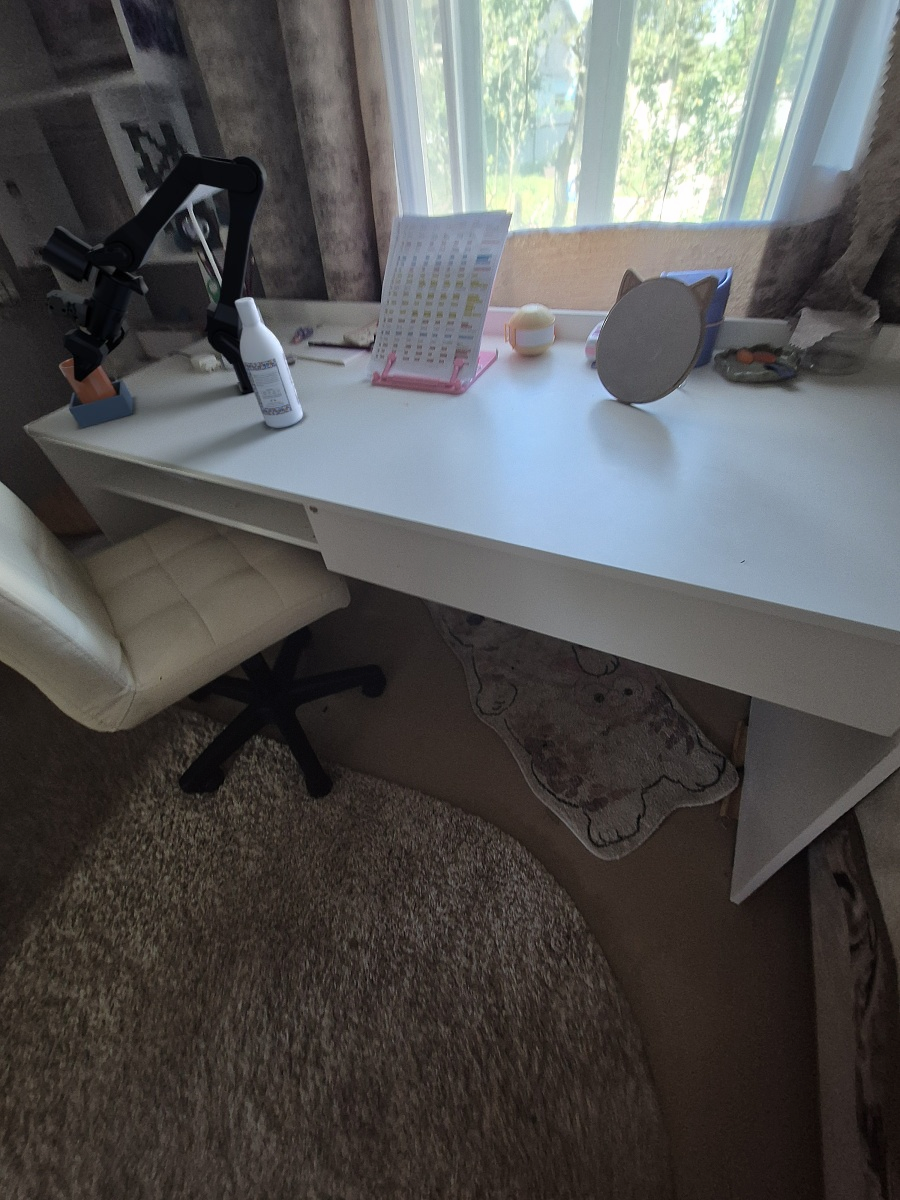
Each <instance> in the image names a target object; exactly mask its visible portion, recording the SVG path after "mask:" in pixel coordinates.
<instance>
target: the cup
mask: <svg viewBox="0 0 900 1200" xmlns="http://www.w3.org/2000/svg"><path fill="white" fill-rule="evenodd" d="M58 368H59V369H60V371H61V373H62V374H63V376H64V377H65V379H66V381H67V383H68V384H69V386H70V387H71V389H72V391H73V392H75V394H76V395H77V397H78V399H79V400H80V402H81V404H82V405H83V404H87V403H91V402H95V401H98V400H102V399H106V398H110V397H114V396H118V394H117V392H116V390H115V389H114V387H113V385H112V381H111V380H110V378H109V376H108V375H107V374H108V373H106V370H105V369H104V367H103V365H102V364H101V365H100V366H99V367H98V368H97V369H95V370H94V371H93V372H92V373H91V374H90V375H88V376H87V377H86V378H85V379H84V380H83V381H82V382H78V381H76V380H75V379H74V364H73V357H72V358H69V359H65V360H64V361H62V362H61V363H60V364H58Z"/></svg>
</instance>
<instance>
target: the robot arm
mask: <svg viewBox="0 0 900 1200" xmlns="http://www.w3.org/2000/svg"><path fill="white" fill-rule="evenodd" d="M267 184H268V175H267V172H266V169H265V167H264V165H263V164H262V162H261V161H260V160H259V159H258V158H257V157H255V156H253V155H251V154H248V153H245V154H240V155H238V156H236V157H234V158H226V157H218V156H210V155H202V154H199V153H196V152H193V151H190V152H186V153H183V154H181V155H180V157H179V158H178V162H177V164H176V165H174V167H173V169H172V170H171V171H170V173H169V174H168V175H167V176H166V177H165V179H164V180H163V181H162V183H161V184H160V185H159V186H158V187H157V189H156V190H155V191H154V193H153V194H152V195H151V197H149V199H148V200H147V201H146V203H145V204H144V205H142V207H141V209H140V210H139V211H138V213H137V214H136V215H135V216H133V217H132V218H130V219H129V220H128V221H126V222H125V223H124V224H122V225H121V226H120V227H118V228H116V229H115V230H114V231H112V233H110V234H109V235H107V236H106V237H105V238H104V240H103V243H98V244H97V245H94V246H92V245H90V244H88V243H87V242H85V241H83V240H82V239H81V238H79V237H77V236H76V235H75V234H73V233H71V232H70V231H69V230H68V229H67V228H65V227H63V226H62V225H58V226H55V227H54V229H53V233H51V236H50V237H49V238H48V240H47V243H46V244H45V245H44V246H43V250H42V254H41V260H42V263H43V264H45V265H47V266H49V267H50V268H52V269H54V270H55V271H57V272H59V273H60V274H62V275H64V276H66V277H67V278H69V279H71V280H72V281H73V282H76V283H77V284H79V285H81V284H83V283H84V281H85V282H87V283H89V284H90V283H91V282H92V281H93V279H94V277H96V278H95V280H94V284H93V286H92V289H91V293H90V295H89V296H88V297H85V296H83V295H80V294H76V293H72V292H68V291H65V290H61V289H52V290H50V291H49V292H48V293H46V296H45V302H44V306H45V307H46V308H48V313H49V314H50V315H51V316H55V317H58V316H59V317H63V318H67V319H72V320H76V321H75V324H76V325H77V326H79V327H81V328H82V329H83V328H85V330H86V331H87V332H88V333H87V332H85V331H83V330H82V329H80V328H78V327H77V328H72V329H69V331H67V332H66V333H65V334H63V337H62V341H61V344H60V345H61V346H62V347H63V348H64V349H65V350H67V351H68V352H69V353H70V354H71V356H72V358H73V364H74V379H75V380H76V381H78V382H82V381H83V380H84V379H85V378H86V377H87V376H88V375H90V374H91V373H92V372H93V371H94V370H95V369H97V368H98V367H99V366H100V365H102V364H103V363H104V362H105V361H106V359H107V357H108V355H110V354H111V353H112V352H113V351H114V350H115V349H117V347H118V346H120V345H121V344H122V343H123V341H125V339H126V338H127V336H128V333H129V331H130V326H129V324H128V322H127V320H125V319H126V318H127V317H128V314H129V311H128V308H129V306H130V304H131V301H132V298H133V295H134V292H135V293H136V294H138V295H140V296H145V295H146V294H147V293H148V292H149V288H148V286H147V284H146V282H145V281H144V277H143V276H142V275H139V276H134V275H132V273H135V272H136V271H137V270H139V269H140V268H142V267H143V266H144V265H145V264H146V263H147V262H148V261H149V258H150V256H151V254H152V252H153V250H154V249H155V246H156V244H157V241H158V239H159V236H160V234H161V232H162V231H163V230H164V229H165V228H166V226H167V225H168V224H169V222H170V221H171V220H172V219H173V218H174V216H175V215H176V214H177V212H179V210H180V209H181V208H182V207H183V206H184V204H185V203H186V202H187V200H188V199H190V197H191V196H192V194H193V193H194V192H195V191H196V189H197V188H198V187H199V186H200V185H201V186H202V185H203V186H208V187H210V188H211V187H212V188H216V189H220V190H221V189H222V190H226V191H227V200H228V201H227V202H228V209H229V211H228V212H229V221H228V227H227V235H226V243H225V252H224V259H223V265H222V266H223V267H222V274H221V283H220V290H219V299H218V302H217V303H216V302H214V301H211V302H210V304H209V305H208V306H207V308H206V326H205V328H204V329H203V332H204V333H207V342H208V344H209V345H210V346H211V348H212V349H213V350H215V351H216V353H219V354H220V355H222V356H223V358H225V360H226V361H227V362H228V364H229V365H232V368H233V371H234V373H235V375H236V378H237V381H238V382H236V384H237V386H238V388H239V389H238V390H239V391H240V393H241V394H242V395H245V394H248V393H251V392H254V390H253V388H252V385H251V382H250V380H249V377H248V374H247V372H246V369H245V366H244V364H243V361H242V357H241V352H240V340H241V335H242V330H243V324H242V321H241V319H240V316H239V313H238V310H237V308H236V305H235V301H236V300H238V299H241V298H243V294H244V286H245V280H246V274H247V268H248V267H247V266H248V261H249V252H250V247H251V239H252V235H253V229H254V228H253V227H254V222H255V219H256V216H257V215H258V212H259V209H260V206H261V203H262V200H263V197H264V194H265V191H266V188H267V186H268V185H267ZM97 269H98V270H97ZM96 272H97V274H96ZM95 275H96V276H95Z"/></svg>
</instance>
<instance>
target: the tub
mask: <svg viewBox="0 0 900 1200" xmlns="http://www.w3.org/2000/svg"><path fill="white" fill-rule="evenodd" d="M111 383H112V385H113V387H114V389H115V390H116V392H117V394H118V396H114V397H110V398H106V399H102V400H98V401H95V402H91V403H87V404H83V405H82V404H81V402H80V400H79V399H78V397H77V395H76V394H75V392H74V391H73V392H72V394H71V397H70V402H69V407H68V411H69V412H70V414H71V415H72V417H73V419H74V420H75V421H76V423H77V425H78V426H79V428H80V429H83V428H87V427H90V426H91V427H92V426H95V425H97V424H101V423H105V422H109V421H112V420H116V419H120V418H124V417H127V416H131V415H133V405H134V404H133V403H134V401H133V400H134V399H133V395H132V394H131V392H130V391H129V389H128V387H127V385H126V383H125V382H124V379H121V380H117V381H113V382H112V381H111Z"/></svg>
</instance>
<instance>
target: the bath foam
mask: <svg viewBox="0 0 900 1200" xmlns="http://www.w3.org/2000/svg"><path fill="white" fill-rule="evenodd" d="M235 305H236V308H237V310H238V313H239V316H240V319H241V321H242V324H243V330H242V335H241V340H240V352H241V357H242V361H243V364H244V366H245V369H246V372H247V374H248V377H249V380H250V382H251V385H252V388H253V390H254V391H253V392H254V396H255V398H256V401H257V403H258V406H259V409H260V412H261V414H262V417H263V420H264V422H265V424H266V425H267V426H268V427H270V428H275V429H280V428H281V429H282V428H287V427H291V426H293V425H295V424H297V423H298V422H300V421H301V420H302V418H303V417H304V411H303V409H302V406H301V402H300V399H299V396H298V393H297V390H296V386H295V384H294V383H295V382H294V380H293V376H292V374H291V371H290V367H289V364H288V362H287V358H286V355H285V351H284V349H283V347H282V344H281V343H280V341H279V339H278V338H277V337H276V336H275V334H274V333H273V332H272V331H271V330H270V329H269V328H268V327H267V326H265V325H264V323H263V322H262V321H261V318H260V314H259V312H258V308H257V306H256V303H255V299H254V298H253V297H249V296H247V297H242V298H241V299H238V300H236V301H235Z"/></svg>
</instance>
